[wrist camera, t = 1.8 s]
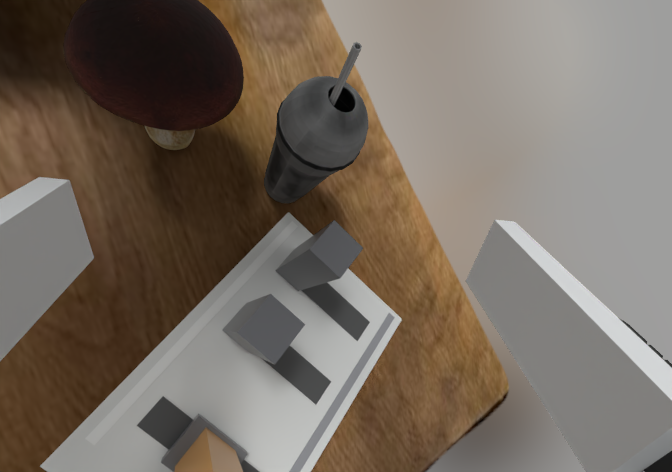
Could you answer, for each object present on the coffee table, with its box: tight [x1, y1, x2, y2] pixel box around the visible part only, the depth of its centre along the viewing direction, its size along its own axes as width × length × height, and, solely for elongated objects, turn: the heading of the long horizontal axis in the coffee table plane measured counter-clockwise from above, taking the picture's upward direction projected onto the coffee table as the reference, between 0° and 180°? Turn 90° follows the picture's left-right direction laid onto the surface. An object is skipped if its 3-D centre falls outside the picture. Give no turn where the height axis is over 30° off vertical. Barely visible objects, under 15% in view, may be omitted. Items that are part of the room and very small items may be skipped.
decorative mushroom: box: [64, 0, 244, 150], centre depth 26 cm, size 11×11×15 cm
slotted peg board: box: [40, 212, 402, 472], centre depth 25 cm, size 17×26×12 cm, turn 141°
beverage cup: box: [264, 42, 368, 203], centre depth 27 cm, size 7×7×20 cm
